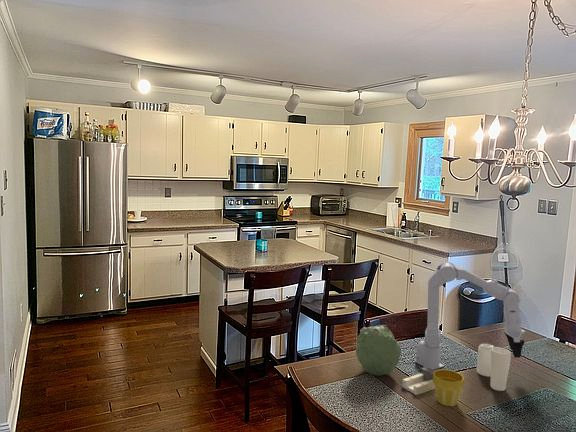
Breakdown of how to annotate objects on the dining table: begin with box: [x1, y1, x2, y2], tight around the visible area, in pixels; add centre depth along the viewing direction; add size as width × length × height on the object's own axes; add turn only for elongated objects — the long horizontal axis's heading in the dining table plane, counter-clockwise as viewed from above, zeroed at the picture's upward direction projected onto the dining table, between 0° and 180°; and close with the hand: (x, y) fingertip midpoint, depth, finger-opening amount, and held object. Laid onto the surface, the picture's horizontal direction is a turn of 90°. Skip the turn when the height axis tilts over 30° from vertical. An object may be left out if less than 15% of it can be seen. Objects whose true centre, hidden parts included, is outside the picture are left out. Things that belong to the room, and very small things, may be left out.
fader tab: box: [420, 366, 435, 381], centre depth 169 cm, size 5×3×4 cm, turn 32°
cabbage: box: [355, 324, 402, 377], centre depth 176 cm, size 16×19×20 cm
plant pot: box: [433, 368, 465, 407], centre depth 157 cm, size 10×10×10 cm
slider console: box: [401, 372, 435, 396], centre depth 168 cm, size 7×15×3 cm, turn 123°
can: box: [476, 342, 496, 378], centre depth 180 cm, size 6×6×12 cm
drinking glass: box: [489, 346, 512, 392], centre depth 168 cm, size 7×7×15 cm
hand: (515, 353), depth 176 cm, fingers open, 7 cm apart
